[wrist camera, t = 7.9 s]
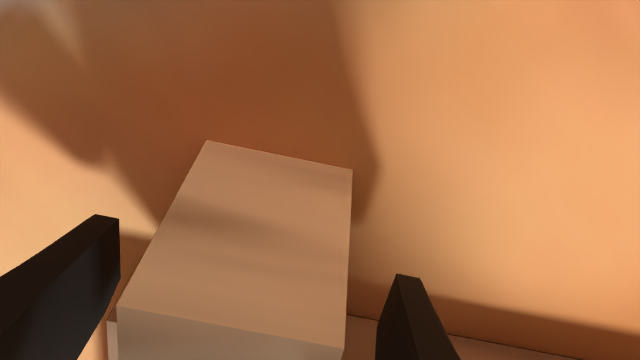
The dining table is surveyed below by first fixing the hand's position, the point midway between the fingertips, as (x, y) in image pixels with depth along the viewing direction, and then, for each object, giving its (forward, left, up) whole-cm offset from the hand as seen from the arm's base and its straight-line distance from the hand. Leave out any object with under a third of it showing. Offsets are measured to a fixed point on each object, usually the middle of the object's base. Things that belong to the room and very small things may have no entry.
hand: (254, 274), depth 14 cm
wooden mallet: (-4, 0, -2) cm, 5 cm away
